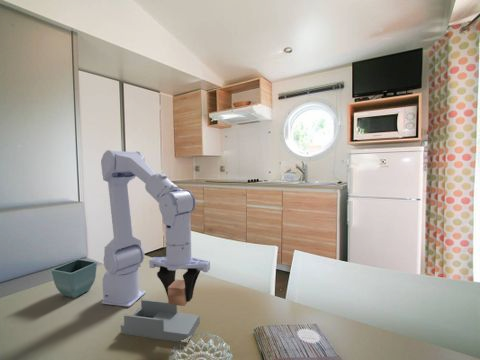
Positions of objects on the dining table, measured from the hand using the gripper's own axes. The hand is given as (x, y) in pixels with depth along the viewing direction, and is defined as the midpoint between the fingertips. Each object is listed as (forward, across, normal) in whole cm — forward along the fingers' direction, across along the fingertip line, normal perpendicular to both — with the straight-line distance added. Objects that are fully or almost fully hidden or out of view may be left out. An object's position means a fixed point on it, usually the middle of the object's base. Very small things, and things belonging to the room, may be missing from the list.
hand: (180, 298), depth 57 cm
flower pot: (+8, -41, +10) cm, 43 cm away
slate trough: (+8, -5, 0) cm, 9 cm away
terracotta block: (0, 0, 0) cm, 0 cm away
